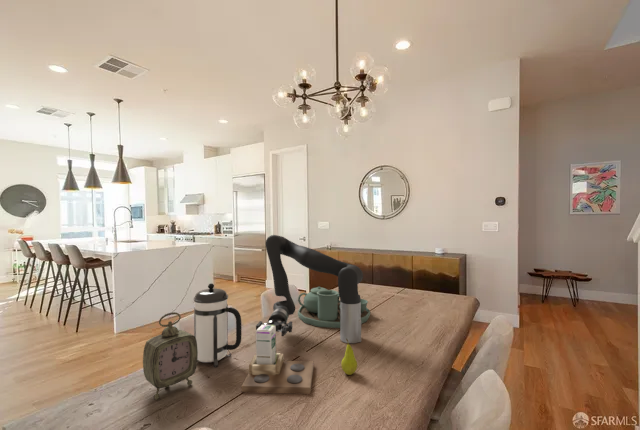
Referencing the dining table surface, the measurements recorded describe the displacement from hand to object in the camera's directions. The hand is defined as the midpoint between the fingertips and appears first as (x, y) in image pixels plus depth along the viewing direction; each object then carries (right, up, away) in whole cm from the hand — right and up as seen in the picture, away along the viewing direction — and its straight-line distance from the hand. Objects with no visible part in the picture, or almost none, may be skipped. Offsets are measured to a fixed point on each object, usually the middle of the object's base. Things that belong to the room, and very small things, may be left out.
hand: (271, 333), depth 122 cm
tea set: (+26, -12, +57) cm, 64 cm away
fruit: (+29, -12, -8) cm, 32 cm away
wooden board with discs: (+5, -11, -11) cm, 17 cm away
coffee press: (-23, -12, +3) cm, 26 cm away
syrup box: (-1, -10, -7) cm, 12 cm away
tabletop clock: (-30, -12, -18) cm, 37 cm away
